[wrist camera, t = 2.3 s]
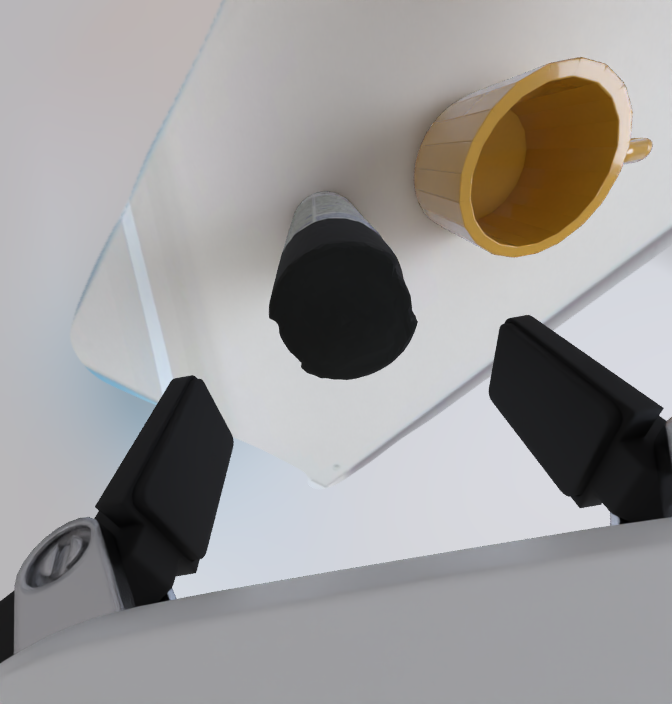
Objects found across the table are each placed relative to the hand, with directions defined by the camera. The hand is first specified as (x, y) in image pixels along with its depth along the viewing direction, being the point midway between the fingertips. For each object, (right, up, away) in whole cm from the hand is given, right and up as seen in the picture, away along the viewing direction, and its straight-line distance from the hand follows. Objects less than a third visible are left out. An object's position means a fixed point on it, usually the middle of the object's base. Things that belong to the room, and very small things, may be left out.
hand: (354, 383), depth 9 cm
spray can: (-2, +13, +20) cm, 24 cm away
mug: (+13, +18, +18) cm, 29 cm away
